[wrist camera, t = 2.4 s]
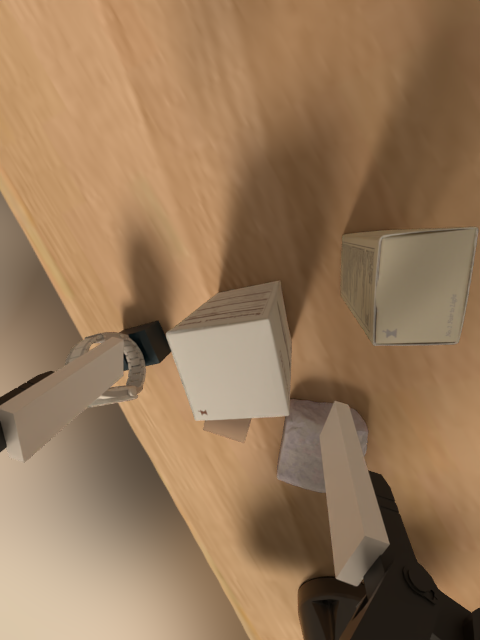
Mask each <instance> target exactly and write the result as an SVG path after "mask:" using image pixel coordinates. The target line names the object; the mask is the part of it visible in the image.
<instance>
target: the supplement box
mask: <svg viewBox="0 0 480 640" xmlns="http://www.w3.org/2000/svg"><path fill="white" fill-rule="evenodd" d="M166 338H167V340H168V343H169V346H170V349H171V352H172V355H173V358H174V360H175V363H176V366H177V369H178V372H179V375H180V378H181V381H182V384H183V386H184V389H185V392H186V395H187V398H188V401H189V404H190V406H191V409H192V412H193V415H194V419H195V420H196V421H199V420H225V419H244V418H263V417H281V416H288V415H289V414H290V380H291V353H292V340H291V335H290V331H289V327H288V322H287V316H286V311H285V305H284V300H283V294H282V288H281V281H280V280H278V281H274V282H269V283H264V284H259V285H254V286H249V287H244V288H239V289H234V290H229V291H224V292H219V293H217V294H216V295H215V296H213V297H212V298H211V299H209V300H208V301H207V302H205V303H204V304H203V305H202V306H200V307H199V308H198V309H197V310H195V311H194V312H193V313H192V314H190V315H189V316H188V317H187V318H185V319H184V320H183V321H182V322H180V323H179V324H178V325H176V326H175V327H174V328H172V329H170V330H169V331H167V332H166Z"/></svg>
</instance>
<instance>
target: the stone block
mask: <svg viewBox="0 0 480 640" xmlns="http://www.w3.org/2000/svg"><path fill="white" fill-rule="evenodd" d="M333 404H334V403H326V402H323V403H318V402H313V401H309V400H297V399H291V400H290V414H289V415H288V416H286V417H285V423H284V429H283V435H282V441H281V447H280V452H279V458H278V465H277V478H278V479H279V480H282V481H284V482H286V483H289V484H291V485H294V486H298V487H301V488H304V489H308V490H311V491H316V492H320V493H326V489H325V480H324V471H323V463H322V454H321V445H320V434H321V431H322V429H323V427H324V424H325V422H326V420H327V418H328V415H329V413H330V411H331V408H332V406H333ZM350 411H351V415H352V418H353V421H354V425H355V428H356V431H357V435H358V438H359V442H360V445H361V448H362V452H363V455H364V456H365V453H366V450H367V444H366V443H368V441H367V438H368V429H367V425H366V423H365V421H364V420H363V419H362V417H361V415H360V414H359V413H358V412H357V411H356V410H355V409H352V408H350Z"/></svg>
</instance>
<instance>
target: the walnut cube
mask: <svg viewBox="0 0 480 640" xmlns="http://www.w3.org/2000/svg"><path fill="white" fill-rule="evenodd" d="M250 421H251V418H244V419H225V420H205V423H204V428H203V430H205V431H208V432H211V433H214V434H217V435H220V436H223V437H226V438H229V439H232V440H235V441H238V442H242V443H245V440H246V436H247V432H248V429H249V425H250Z"/></svg>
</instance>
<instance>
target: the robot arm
mask: <svg viewBox="0 0 480 640" xmlns="http://www.w3.org/2000/svg"><path fill="white" fill-rule="evenodd" d="M123 348H124V340H123V339H119V338H116V337H111V338H109V339H108V340H106V341H105V342H103V343H101V344H100V345H98V346H96V347H95V348H93V349H92V350H90V351H88V352H87V353H85V354H83V355H82V356H80V357H78V358H77V359H75V360H74V361H72V362H70V363H69V364H67V365H65V366H64V367H62V368H61V369H59V370H57V371H56V372H53V371H49V372H46V373H43V374H40V375H38V376H36V377H34V378H33V379H31V380H29V381H27V383H24V384H22V385H21V386H19V387H18V388H15V389H14V390H12V391H10V392H9V393H7V394H5V395H4V396H2V397H0V452H1V451H2V450H4V449H5V448H7V452H8V456H9V457H10V458H12V459H15V460H18V461H21V462H23V463H25V461H27V460H28V459H29V458H30V457H31V456H33V455H34V454H35V453H36V452H37V451H38V450H39V449H40V448H42V447H43V446H44V445H45V444H46V443H47V442H48V441H50V440H51V438H53V437H54V436H55V435H56V434H58V433H59V432H60V431H61V430H62V429H63V428H64V427H65V426H66V425H68V424H69V423H70V422H71V421H72V420H74V419H75V418H76V417H77V416H78V415H79V414H80V413H81V412H83V411H84V410H85V409H86V408H87V407H88V406H89V405H91V404H92V403H93V402H94V401H95V400H96V399H97V398H99V397H100V396H101V395H102V394H103V393H104V392H105V391H106V390H108V389H109V388H110V387H111V386H112V385H113V384H114V383H116V382H117V381H118V380H119V379H120V378H121V377H122V376H123ZM320 445H321V454H322V463H323V471H324V480H325V489H326V498H327V507H328V515H329V524H330V533H331V542H332V550H333V559H334V568H335V577H336V578H318V579H313V580H310V581H308V582H306V583H305V584H303V585H302V586H301V587H300V589H299V591H298V616H299V620H300V625H301V629H302V634H303V638H304V640H480V608H478V609H476V610H475V611H473V612H472V613H471V612H470V611H468V610H467V609H465V608H464V607H462V606H461V605H460V604H458V603H457V602H455V601H454V600H452V599H451V598H450V597H448V596H447V595H445V594H444V593H443V592H441V591H440V590H439V589H438V588H437V586H436V584H435V583H434V581H433V579H432V577H431V576H430V575H429V573H428V572H427V571H426V570H425V569H424V568H423V566H421V565H420V564H419V563H418V562H417V560H416V558H415V555H414V552H413V549H412V547H411V544H410V541H409V538H408V536H407V533H406V530H405V527H404V524H403V522H402V519H401V516H400V514H399V511H398V508H397V505H396V503H395V499H394V497H393V494H392V491H391V488H390V486H389V485H388V484H387V482H386V481H385V479H384V478H383V476H382V475H381V474H378V473H375V472H371V471H368V469H367V465H366V462H365V459H364V455H363V452H362V448H361V445H360V442H359V438H358V435H357V431H356V428H355V425H354V421H353V418H352V415H351V411H350V408H349V405H348V404H344V403H341V402H338V401H334V404H333V406H332V408H331V411H330V413H329V415H328V418H327V420H326V422H325V424H324V427H323V429H322V431H321V434H320ZM363 579H364V583H365V585H362V584H360V582H361V581H362V580H363Z"/></svg>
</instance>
